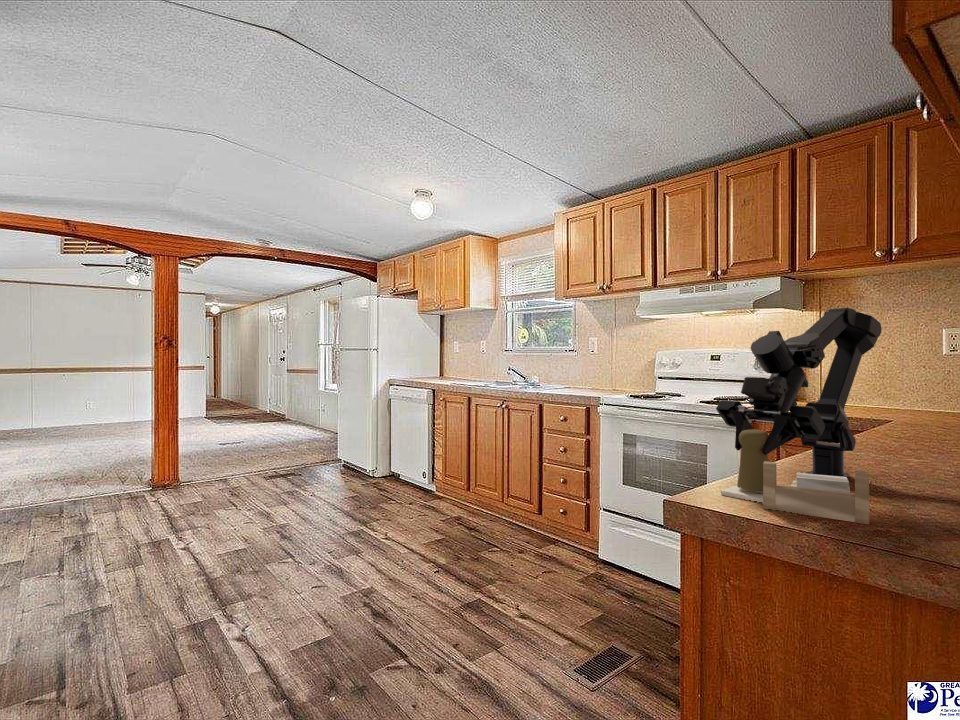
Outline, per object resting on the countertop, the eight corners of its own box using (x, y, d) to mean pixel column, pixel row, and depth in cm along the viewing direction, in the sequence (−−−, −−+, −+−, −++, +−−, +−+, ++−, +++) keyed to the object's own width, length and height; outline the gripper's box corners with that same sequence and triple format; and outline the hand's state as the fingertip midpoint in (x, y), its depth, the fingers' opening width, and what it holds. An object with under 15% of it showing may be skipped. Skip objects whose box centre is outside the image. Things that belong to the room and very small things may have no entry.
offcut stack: (793, 490, 103) (793, 471, 103) (849, 497, 97) (849, 477, 97) (790, 496, 98) (790, 476, 98) (848, 504, 93) (848, 483, 93)
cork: (732, 488, 100) (731, 430, 100) (742, 481, 104) (742, 426, 104) (767, 493, 96) (766, 433, 96) (776, 486, 100) (776, 429, 100)
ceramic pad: (741, 487, 106) (741, 483, 106) (787, 495, 99) (787, 491, 99) (720, 494, 101) (720, 490, 101) (767, 504, 94) (767, 499, 94)
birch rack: (765, 506, 93) (764, 461, 93) (869, 521, 84) (868, 471, 84) (763, 508, 91) (763, 463, 91) (869, 524, 82) (869, 473, 82)
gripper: (720, 361, 110) (687, 418, 104) (816, 362, 94) (783, 429, 88) (743, 396, 114) (712, 453, 108) (838, 403, 98) (808, 470, 92)
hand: (749, 451), depth 99 cm, fingers closed on cork, 5 cm apart
